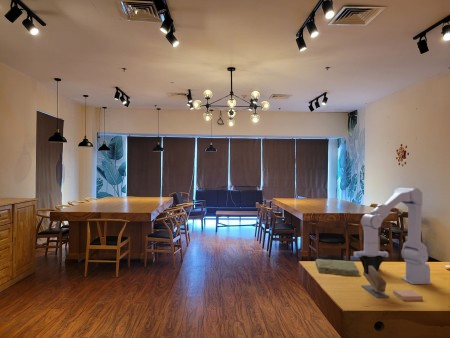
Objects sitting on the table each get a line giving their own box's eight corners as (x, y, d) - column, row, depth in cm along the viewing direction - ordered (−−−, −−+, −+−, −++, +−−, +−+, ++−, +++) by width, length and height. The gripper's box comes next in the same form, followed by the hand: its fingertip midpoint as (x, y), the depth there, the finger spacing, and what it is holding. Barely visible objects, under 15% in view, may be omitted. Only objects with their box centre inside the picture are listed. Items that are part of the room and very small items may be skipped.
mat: (372, 286, 144) (372, 285, 144) (388, 297, 131) (388, 296, 131) (361, 286, 144) (361, 285, 144) (376, 297, 131) (376, 296, 131)
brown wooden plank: (370, 274, 144) (372, 265, 143) (384, 292, 133) (386, 282, 132) (363, 274, 144) (364, 265, 143) (376, 292, 133) (378, 282, 131)
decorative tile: (315, 264, 181) (315, 257, 181) (353, 266, 177) (353, 259, 177) (317, 274, 162) (317, 267, 162) (360, 277, 158) (360, 270, 158)
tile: (411, 289, 136) (422, 296, 129) (411, 294, 136) (422, 301, 129) (393, 290, 135) (402, 296, 128) (393, 295, 135) (402, 301, 128)
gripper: (382, 239, 145) (382, 270, 145) (350, 240, 144) (350, 270, 144) (391, 243, 138) (391, 275, 138) (357, 243, 137) (357, 275, 137)
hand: (370, 273), depth 141 cm, fingers closed on brown wooden plank, 3 cm apart
